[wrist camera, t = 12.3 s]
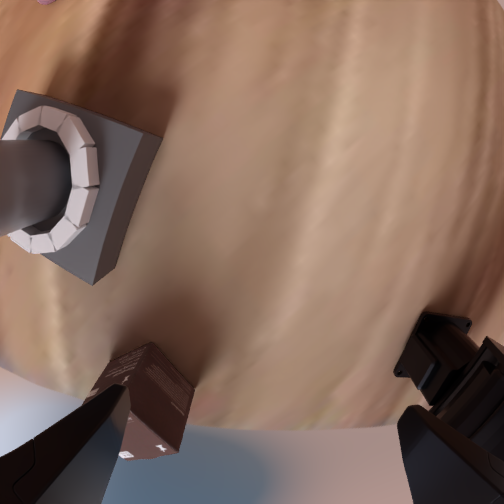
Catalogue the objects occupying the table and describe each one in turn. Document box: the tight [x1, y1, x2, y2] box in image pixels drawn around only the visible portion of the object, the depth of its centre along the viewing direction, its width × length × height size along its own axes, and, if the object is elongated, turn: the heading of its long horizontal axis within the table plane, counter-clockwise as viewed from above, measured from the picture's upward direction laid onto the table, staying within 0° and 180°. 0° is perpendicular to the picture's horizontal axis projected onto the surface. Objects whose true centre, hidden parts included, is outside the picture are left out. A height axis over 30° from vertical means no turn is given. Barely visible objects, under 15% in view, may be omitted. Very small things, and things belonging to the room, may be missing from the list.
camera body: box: [1, 89, 163, 286], centre depth 16 cm, size 12×10×5 cm
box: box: [82, 343, 195, 461], centre depth 20 cm, size 6×6×7 cm
